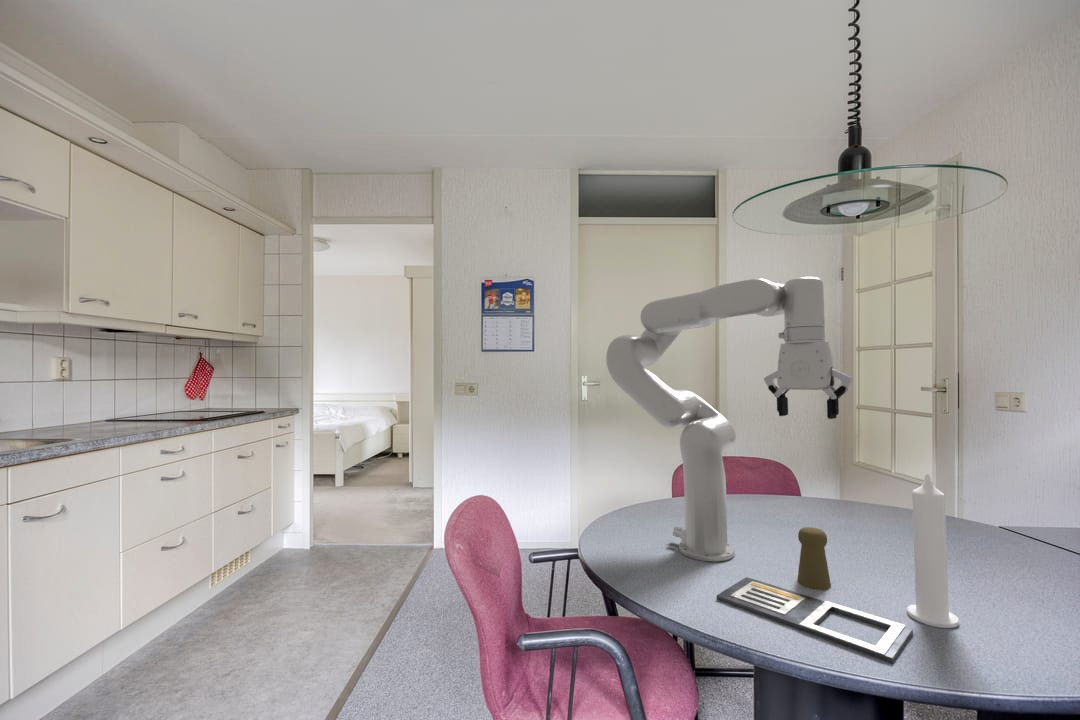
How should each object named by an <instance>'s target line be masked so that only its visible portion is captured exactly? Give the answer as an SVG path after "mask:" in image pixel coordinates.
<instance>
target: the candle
mask: <svg viewBox="0 0 1080 720" xmlns="http://www.w3.org/2000/svg"><path fill="white" fill-rule="evenodd" d="M924 476H925V477H924V479H923V482H922V484H921V485H919V486H918V487H916V488H914V489H912V492H911V495H912V496H911V499H912V501H911V502H912V527H913V529H912V532H913V559H914V560H913V562H914V588H915V590H914V591H915V592H914V593H915V603H914V604H910V605H908V606H907V607H906V612H907V614H908V616H909V617H910V618H912V619H913V620H914V621H915V620H916V621H917V622H918V623H922V624H924V625H926V626H931V627H934V628H939V629H940V628H941V629H953V628H956V627H957V628H958V626H959V625H960V619H959V618H958V616H957V615H955V614H954V613H953V612H951V611H950V608H949V607H950V606H949V604H950V603H949V579H948V578H949V577H948V550H947V549H948V548H947V546H948V545H947V543H948V542H947V522H946V521H947V520H946V519H947V518H946V516H947V514H946V496H945V493H944V492H942V491H941V490H939V488H937V487H936V486H934V484H933V482H932V478H931V474H930V473H925V475H924Z"/></svg>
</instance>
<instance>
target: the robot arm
mask: <svg viewBox="0 0 1080 720" xmlns="http://www.w3.org/2000/svg"><path fill="white" fill-rule="evenodd" d="M824 288H825V287H824V283H823V280H822V279H820V278H819V277H815V276H805V277H804V276H803V277H797V278H791V279H789V280H787V281H786V282H785V283H777V282H776V283H775V282H772V281H770V280H768V279H765V278H751V279H745V280H740V281H739V280H738V281H734V282H730V283H725V284H721V285H717V286H713V287H711V288H707V289H703V290H702V291H699V292H698V291H697V292H694V293H692V292H691V293H688V294H683V295H679V296H673V297H667V298H663V299H656V300H653V301H650V302H648V303H646V304H645V305H644V307H643V308H642V309H641V312H640V322H641V325H642V326H643V328H644V331H643V332H642V333H641V334H640V335H638V334H625V335H624V334H623V335H620V336H618V337H615V338H614V339H613V340H612V341H610V343H609V345H608V347H607V350H606V360H605V361H606V368H607V370H608V373H609V374H610V377H611V378H612V380H613V382H614V383H615V384H616V385H617V386H618V387H619V388H620V389H621V390H622V391H624V392H625V394H627V395H628V396H629V397H630V398H631V399H632V400H633V401H635V403H636V404H637V405H639V406H640V407H641V408H642V409H643V410H644V411H645V412H646V414H648V415H649V416H650V417H652V419H654V420H655V422H656V423H658V424H659V425H660V426H661V427H664V428H667V429H676V428H682V432H681V434H680V437H679V447H680V448H679V449H680V454H681V459H682V461H681V462H682V467H683V469H682V470H683V487H684V490H683V491H684V527H682V526H679V525H675V526H674V527H673V531H672V536H673V537H675V538H680V540H681V542H680V543H679V544H678V549H679V552H680V553H681V554H682V555H683V556H685V557H688V558H691V559H694V560H698V561H703V562H704V561H705V562H723V561H729V560H731V559H732V558H734V556H735V555H736V553H735V548H734V547H733V546H732V545H731V544H729V543H728V514H727V510H728V509H727V485H726V472H725V471H726V470H725V465H724V459H723V454H725V453H727V452H728V451H730V450H731V449H732V448H733V447H734V445H735V443H736V439H737V437H736V436H737V435H736V431H735V428H734V426H733V425H732V423H731V422H730V421H729V420H728V419H727V418H726V417H725V416H723V415H722V414H721V413H720V412H719V411H717V410H716V409H715V408H713V406H712V405H710V404H709V403H708V402H707V401H705V400H704V399H703V398H702V397H701V396H699V395H698V394H696V393H695V392H693V391H691V390H687V389H673V388H672V387H670V386H669V385H668V384H666V383H665V382H664V381H663V380H661V379H660V378H659V377H658V376H657V375H656V374H654V373H653V372H651V371H650V370H648V369H647V368H645V367H649V366H651V365H654V364H655V363H657V361H659V360H660V358H662V356H663V355H664V354H665V352H666V351H667V350H668V349H669V347H670V346H671V345H672V344H673V342H675V341H676V340H677V338H678V337H679V335H680V333H682V331H686V330H692V329H700V328H705V327H709V326H710V325H711V324H713V323H714V322H716V321H720V320H723V319H728V318H734V317H739V316H741V317H742V316H747V315H757V316H762V317H767V318H768V317H775V316H780V315H783V316H784V317H783V318H784V329H783V331H782V332H778V338H779V339H783V341H784V343H780V347H779V352H778V361H777V371H774V372H772V373H770V374H769V375H767V376H765V377H764V378H763V380H764V383H765V384H766V386H767V388H768V391H769V392H771V393H772V394H773V396H774V398H776V411H777V412H778V416H779V417H785V416H788V415H789V401H788V397H787V396H786V395H787V394H788V393H789V392H790V390H792V391H793V390H795V391H796V390H798V391H799V390H802V391H805V390H806V391H819V390H820V391H821V390H822V391H823V392H824V393H825V394H826V395H827V396H828V398H827V400H826V412H827V415H826V416H827V417H826V418H827V419H828V420H834V419H837V417H838V415H840V413H839V412H840V411H839V410H840V408H839V407H840V406H839V405H840V404H839V402H840V401H839V399H840V398H841V397H842V396H843V395H844V394H846V393H847V391H848V390H849V388H850V386H851V385H852V383H853V381H854V378H853V377H852V376H850V375H849V374H848V375H847V374H846V373H843V372H841V371H838V370H837V369H835V367H834V361H833V355H832V350H831V346H830V343H829V342H828V341H826V332H825V331H826V328H825V294H824V292H825V291H824V290H825V289H824ZM835 378H836V379H837V380H838V379H839V380H840V382H841V384H840V385H839V387H837V389H836V388H835V387H834V386H835ZM775 380H777V385H776V384H775Z"/></svg>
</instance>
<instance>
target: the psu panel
mask: <svg viewBox="0 0 1080 720" xmlns="http://www.w3.org/2000/svg"><path fill="white" fill-rule="evenodd" d="M716 601H720V602H721V603H726V604H728V605H731V606H733V607H736V608H738V609H742V610H745V611H747V612H749V613H753V614H756V615H758V616H760V617H764V618H766V619H769V620H772V621H774V622H778V623H780V624H783V625H786V626H789V627H791V628H794V629H796V630H798V631H802V632H805V633H807V634H809V635H810V634H811V635H812V636H815V637H818V638H821V639H824V640H827V641H829V642H832V643H835V644H837V645H841V646H843V647H846V648H848V649H851V650H854V651H857V652H859V653H862V654H865V655H868V656H870V657H873V658H876V659H879V660H882V661H885V662H887V663H890V664H894V662H895V661H896V659H897V658H898V656H899V655H900V654H901V652H902V651H903V650H904V648H905V646H906V645H907V644H908V642H909V641H910V639H911V637H912V636H913V634H914V628H912V627H908V626H906V624H902V623H899V622H896V621H892V620H889V619H886V618H883V617H881V616H876V615H874V614H871V613H867V612H864V611H861V610H858V609H854V608H851V607H849V606H844V605H842V604H838V603H834V602H831V601H828V600H821V599H818V598H815V597H811V596H809V595H806V594H802V593H798V592H796V591H792V590H789V589H786V588H783V587H780V586H777V585H774V584H770V583H768V582H767V583H766V582H763V581H762V580H761V581H760V580H758V579H754V578H751V577H748V576H745V577H744V578H743V579H741V580H740V581H738V582H736V583H735V584H733V585H731V586H730V587H728V588H727V589H724V590H723V591H721V592H720V593H719V594H716ZM832 613H835V614H838V615H842V616H844V617H847V618H851V619H854V620H856V621H859V622H863V623H865V624H868V625H872V626H875V627H878V628H880V629H884V630H886V632H884V634H883V636H882V638H881V639H880V640H879V641H878V642H877V643H876V645H874V644H870V643H869V642H866V641H863V640H860V639H857V638H853V637H851V636H849V635H845V634H842V633H840V632H836V631H834V630H831V629H829V628H825V627H822V626H821V625H820V624H821V623H822V622H823V621H824V620H825V619H826V618H828V616H829V615H830V614H832Z"/></svg>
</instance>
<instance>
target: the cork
mask: <svg viewBox="0 0 1080 720" xmlns="http://www.w3.org/2000/svg"><path fill="white" fill-rule="evenodd" d="M797 537H798V541H799V543H800V544H801V546H800V547H801V548H800V555H799V564H798V573H797V580H796V581H797V583H798V584H799V585H800V586H802V587H804V588H807V589H811V590H815V589H816V590H817V591H827V590H830V589H831V588H832V584H831V579H830V572H829V566H828V561H827V554H826V550H825V549H826V548H825V547H826V546H827V544H828V536H827V533H826V532H825V531H824V530H822V529H821V528H816V527H811V526H807V527H806V526H805V527H802V528H800V529H799V531H798V535H797ZM829 588H830V589H829ZM826 589H827V590H826Z"/></svg>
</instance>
